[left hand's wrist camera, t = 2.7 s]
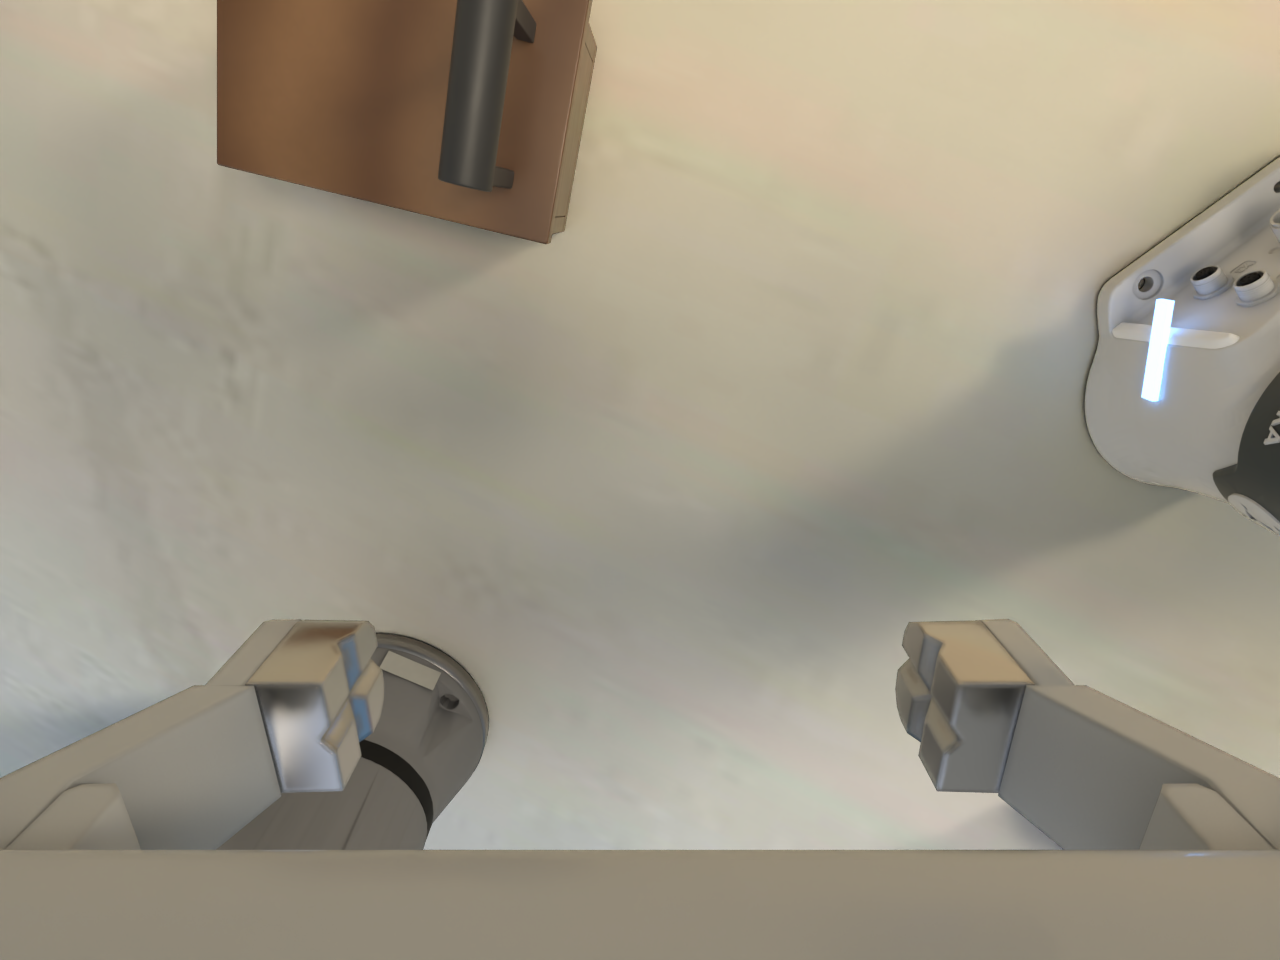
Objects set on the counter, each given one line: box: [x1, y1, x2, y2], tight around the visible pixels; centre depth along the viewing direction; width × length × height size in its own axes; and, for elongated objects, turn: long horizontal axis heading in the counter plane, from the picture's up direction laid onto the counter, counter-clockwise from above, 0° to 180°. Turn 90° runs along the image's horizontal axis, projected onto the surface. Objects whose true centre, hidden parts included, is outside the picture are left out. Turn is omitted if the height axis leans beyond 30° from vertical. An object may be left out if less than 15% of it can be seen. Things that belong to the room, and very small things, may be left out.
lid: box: [217, 0, 592, 244], centre depth 24 cm, size 14×10×8 cm
